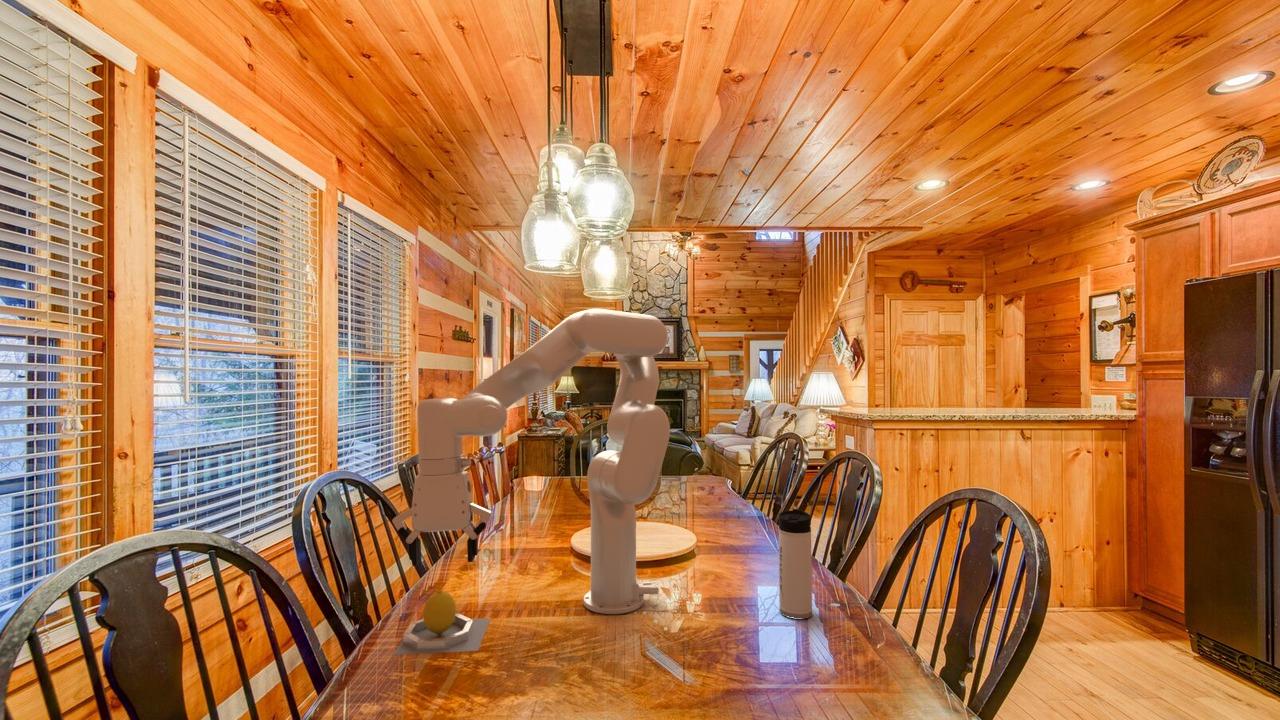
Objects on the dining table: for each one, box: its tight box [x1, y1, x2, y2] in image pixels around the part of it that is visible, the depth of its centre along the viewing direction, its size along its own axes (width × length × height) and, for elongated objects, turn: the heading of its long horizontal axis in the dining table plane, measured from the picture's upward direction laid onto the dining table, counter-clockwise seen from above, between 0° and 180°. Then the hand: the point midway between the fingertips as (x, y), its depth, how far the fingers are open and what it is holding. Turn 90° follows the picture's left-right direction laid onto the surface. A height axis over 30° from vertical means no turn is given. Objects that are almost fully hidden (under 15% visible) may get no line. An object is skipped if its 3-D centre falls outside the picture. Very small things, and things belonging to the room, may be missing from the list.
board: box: [392, 617, 491, 656], centre depth 101 cm, size 14×13×1 cm
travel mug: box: [778, 508, 813, 618], centre depth 113 cm, size 6×7×20 cm
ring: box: [402, 613, 473, 651], centre depth 101 cm, size 11×11×2 cm
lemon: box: [422, 589, 457, 636], centre depth 102 cm, size 6×6×8 cm
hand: (444, 561), depth 102 cm, fingers open, 9 cm apart
